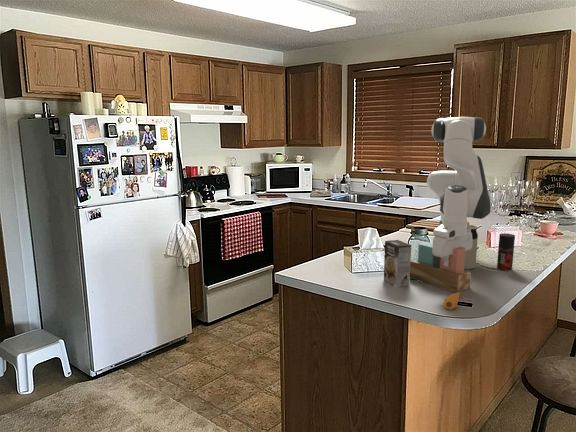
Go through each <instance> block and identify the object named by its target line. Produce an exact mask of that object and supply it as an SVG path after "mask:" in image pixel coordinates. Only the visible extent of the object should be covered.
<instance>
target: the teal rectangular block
mask: <svg viewBox="0 0 576 432" xmlns="http://www.w3.org/2000/svg"><path fill="white" fill-rule="evenodd" d="M417 249H418V251H417V252H418V254H417V261H418V262H419V263H422V264H426V265H429V266H433V267H436V268H438V267H440V257H436V256H434V255H433V252H432V249H433V242H422V243H419V244H418V248H417Z"/></svg>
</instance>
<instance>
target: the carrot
mask: <svg viewBox="0 0 576 432" xmlns="http://www.w3.org/2000/svg"><path fill="white" fill-rule="evenodd" d="M460 296H461V291H459V292H456V293H455V292H454V293H453V294H450V295H449V296H447V297H445V298H444V300H443V306H444V307H445V308H446V309H447V310H454V309H456V308H457V306H458V303H459V300H460Z"/></svg>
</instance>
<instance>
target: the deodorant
mask: <svg viewBox="0 0 576 432" xmlns="http://www.w3.org/2000/svg"><path fill="white" fill-rule="evenodd" d="M515 238H516V234H513V233H505V232H504V233H499V237H498V248H497V249H498V250H497V261H496V262H497V263H496V270H498V271H502V272H512V270H513V264H514V263H513V262H514V251H515V250H514V249H515Z"/></svg>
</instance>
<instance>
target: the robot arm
mask: <svg viewBox="0 0 576 432" xmlns="http://www.w3.org/2000/svg"><path fill="white" fill-rule="evenodd" d="M486 131H487V125H486V123H485V120H484V119H483V118H482V117H480V116H479V117H478V116H474V117H472V116H454V117H445V118H444V117H440V118H437V119H435V120H434V121H433V124H432V126H431V131H430V132H431V135H432V137H433V140H434V141H435V142H438V143H443V161H444V163H445V165H446V166H447V167H449V168H451V169H453V170H447V169H446V170H444V169H443V170H436V171H431V172H430V173H429V174H428V176H427V179H426V185H427V187H428V189H429V191H431V192H432V193H433V194H434V195H435V196H436V197H437V200H438V201H439V205H440V206H439V211H440V219H439V223H438V224H439V226H437V227H436V228H435V229H433V233H432V234H433V236H434V237H433V239H432V244H433V249H432V252H433V255H434V256H436V257H440V258H441V257H442V258H443V260H444V266H450V261H449V260H448V258H449V255H452V254H453V249H456V248H459V247H464V248H465V251H467V250H471V248H472V233H471V229H470V227H469V226H467V225H470V222H469V221H468V218H472V219H480V220H483V219H484V218H486V217H487V216H489V215H490V214H491V211H492V200H491V198H490V194H489V190H488V186H487V180H486V174H485V170H484V163H483V161H482V158H481V157H480V156H479V155H477V154H476V153H475V151H474V150H473V143H474V142H475V143H476V142H479V141H481V140H482V139H484V136H485V135H486ZM478 248H479V244H477V249H478Z"/></svg>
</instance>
